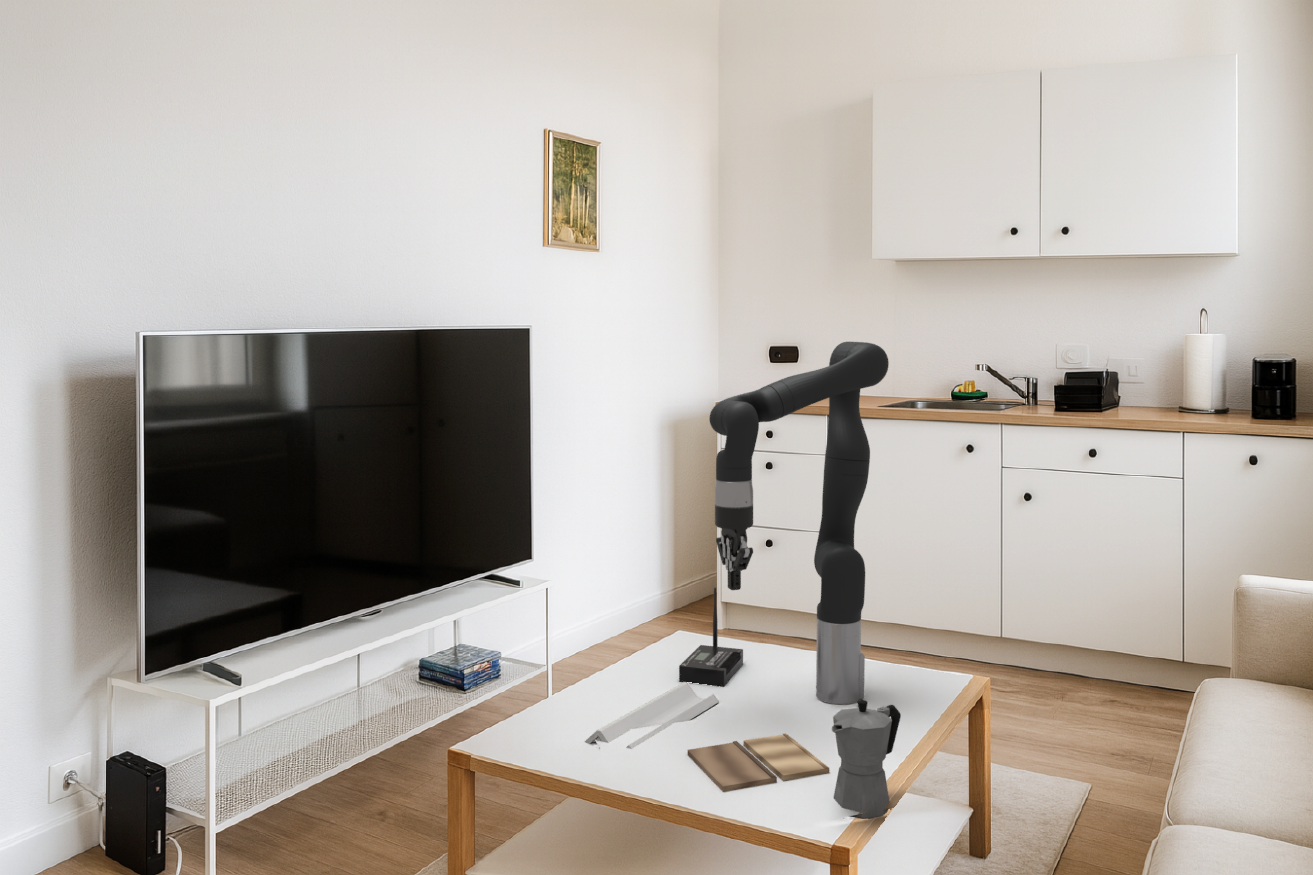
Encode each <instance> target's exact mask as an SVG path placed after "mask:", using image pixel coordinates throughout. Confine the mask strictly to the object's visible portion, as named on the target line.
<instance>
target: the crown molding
mask: <svg viewBox="0 0 1313 875" xmlns="http://www.w3.org/2000/svg"><path fill="white" fill-rule="evenodd" d="M719 702H720V700H719V699H718V698H717V696H716V694H714V693H712V694H711V695H710V696H708V697H706V698H702V697H701V696H698V695H697V694H696V692H695V691H694V689H693V688H692V687H691V686H690V683H687V682H680V683H679V684H678V685H675V686H674V687H672V688H670V689H669V690H667V691H665V692H663V693H662V694H659V695H658V696H656V697H655V698H652V699H650V700H649V701H647V702H645V703H644V704H642V705H640V706H638V707H637V708H635V709H633V710H630V711H629V712H628V713H626V714H624V715H622V716H620V717H619V718H617V719H615V720H612V721H611V722H610V723H608V724H606V725H604V726H602V727H600V728H598V729H597V730H596V731H595V732H593V733H592V734H591V735H590V736H589V737H587V739H586V740H584V743H587V744H591V743H597V741H601V742H603V743H609V744H610V743H611V742H612V741H614V740H616V739H618V738H619V737H622V736H623V735H625V734H626V733H628V732H630V731H631V730H635V729H643V728H649V727H655V726H657V727H656V728H655V729H653V730H651V731H650V732H648V733H646V734H644V735H643V736H641V737H639V738H638V739H636V740H634V741H633V742H631V743H629V744H628V745H627V746H626V748H627V749H631V750H633V749H634V748H636V747H638V746H639V745H641V744H642V743H644V742H646V741H647V740H649V739H651V738H652V737H654V736H655V735H657V734H659V733H660V732H662V731H664V730H666V729H667V728H669V727H671V726H672V725H673V724H676V723H683V722H688V721H691V720H692V719H694V718H695V717H697V716H698V715H700V714H702V713H704V712H706V711H707V710H709V709H710V708H711V707H713V706H715V705H716V704H718V703H719Z"/></svg>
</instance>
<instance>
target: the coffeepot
mask: <svg viewBox="0 0 1313 875" xmlns="http://www.w3.org/2000/svg"><path fill="white" fill-rule="evenodd" d="M868 703H869V701H868V700H867V699H866V700H864V699H859V700H858V701H857V707H855V708H845V709H843V708H842V709H840V710H838V712H837V713H835V715H833V716H832V719H833V725H832V726H831V731H832V732H833V733H834V734H835V740H836V747H837V754H838V756H839V758H840V761H841V762H840V766H839V767H838V773H837V777H836V782H835V788H834V793H833V799H834V801H835V802H836V803H837V804H838V806H840V807H841V808H842V809H845V810H850V811H854V812H856V813H858V814H851V815H849V817H851V818H854V819H855V818H856V819H862V820H863V819H864V820H868V819H870V820H871V819H878V818H880V817H883V816H885V815H886V814H887V813H888V811H889V808H886V807H887V806H888V805H889V804H890V802H891V801H890V795H889V790H888V783H887V777H886V771H885V769H884V766H883V763H884V760H885V759H886V757H887V755H888V754H891V753H892V752H893V748H894V746H895V745H894V744H895V741H896V738H897V733H898V728H899V725H900V722H901V717H902V716H901V712H900V711H899V710H898V708H897V707H896V706H895V705H894V704H889V705H887V706H880V707H877V709H876V710H875V709H870V708H868Z"/></svg>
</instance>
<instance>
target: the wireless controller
mask: <svg viewBox="0 0 1313 875" xmlns="http://www.w3.org/2000/svg"><path fill="white" fill-rule="evenodd" d="M718 633H719V632H718V609H717V587H714V588H713V613H712V645H703V644H700V645H699V646H698V647H697V648H696V649H695V650H694V651H693V652H691V654H690V655H689V656H688V657H687V658H685V660H684V661H682V663H680V664H679V666H678V682H679V683H683V682H692V683H691V684H693V683H699V684H698V685H702V684H707V685H706V686H710V685H712V686H711V687H719V686H720V688H725V686H726V685H728V683H729V682H730V681H731V680H732V678H733V677H734V676H735V674H736V673H738V671H739V670H740V669H741V668H742V666H744V649H743V648H733V647H723V646H718V645H719V644H718V638H719V637H718Z"/></svg>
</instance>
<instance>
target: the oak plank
mask: <svg viewBox="0 0 1313 875" xmlns="http://www.w3.org/2000/svg"><path fill="white" fill-rule="evenodd" d="M742 746H743V747H744V748H745V749H746V750H747V751H748V752H750V753H751V754H752V755H753V756H754V757H755V758H756V759H757V760H758V761H760V762H761V763H762V764H763V765H764V766H765V767H766V768H767V769H768V770H770V771H771V772H772V773H773V774H774V775H775V776H776V777H778V778H779V779H780V780H781V781H782V782H785V781H791V780H792V781H793V780H797V779H802V778H809V777H815V776H820V775H824V774H826V775H827V774H830V767H829V766H828V765H826V764H825V763H824V762H823V761H822V760H821V759H819V758H817V756H815V755H814V754H813V753H811V752H810V751H809V750H807V749H806V748H805V747H804V746H803V745H801V744H800V743H799V742H798V741H796V740H795V739H794V738H792V737H791V736H790V735H789V734H787V733H782V734H778V735H770V736H764V737H757V738H749V739H745V740H743V744H742Z"/></svg>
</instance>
